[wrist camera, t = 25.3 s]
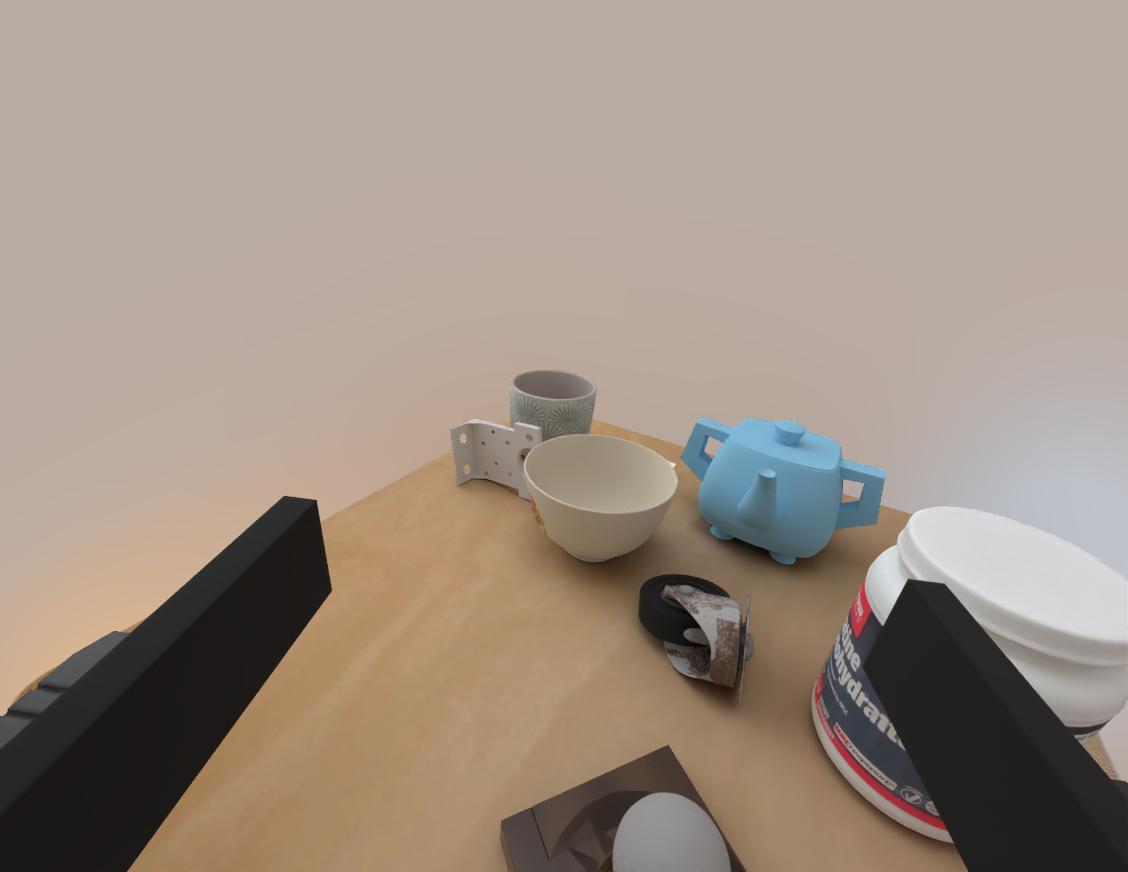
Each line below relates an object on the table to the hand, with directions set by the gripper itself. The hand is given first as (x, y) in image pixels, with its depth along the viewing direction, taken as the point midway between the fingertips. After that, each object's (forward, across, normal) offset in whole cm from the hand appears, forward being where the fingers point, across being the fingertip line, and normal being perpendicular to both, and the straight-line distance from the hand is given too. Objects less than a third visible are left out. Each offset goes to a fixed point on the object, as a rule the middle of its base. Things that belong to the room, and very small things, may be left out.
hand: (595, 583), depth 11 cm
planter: (+57, -6, -28) cm, 63 cm away
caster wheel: (+24, +10, -27) cm, 38 cm away
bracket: (+43, -12, -28) cm, 53 cm away
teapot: (+41, +21, -27) cm, 54 cm away
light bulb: (+4, +6, -27) cm, 28 cm away
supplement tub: (+16, +25, -27) cm, 40 cm away
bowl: (+36, +1, -28) cm, 45 cm away
